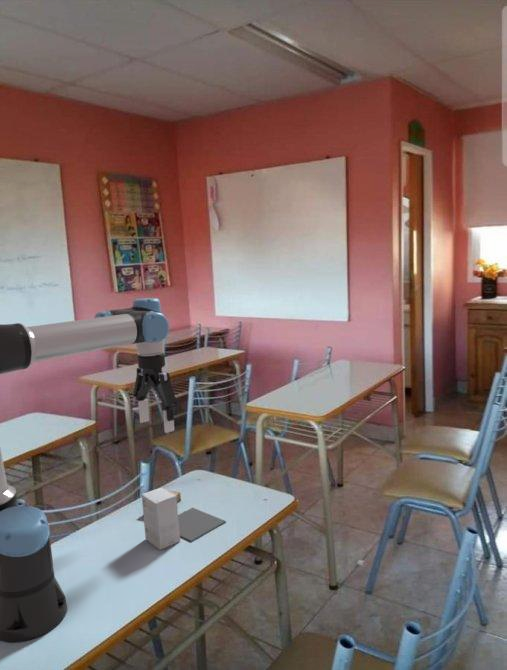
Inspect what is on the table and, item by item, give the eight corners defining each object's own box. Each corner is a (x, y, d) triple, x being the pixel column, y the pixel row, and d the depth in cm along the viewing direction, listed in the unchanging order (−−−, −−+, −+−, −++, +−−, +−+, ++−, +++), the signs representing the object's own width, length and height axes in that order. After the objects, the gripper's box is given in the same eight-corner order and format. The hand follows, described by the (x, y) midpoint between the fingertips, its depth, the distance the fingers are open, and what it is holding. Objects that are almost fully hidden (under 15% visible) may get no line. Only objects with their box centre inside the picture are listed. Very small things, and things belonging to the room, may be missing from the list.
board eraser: (157, 519, 161) (156, 509, 160) (143, 516, 163) (142, 506, 163) (181, 502, 171) (180, 492, 171) (167, 499, 174) (167, 489, 173)
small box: (180, 541, 147) (177, 495, 145) (160, 550, 143) (155, 503, 141) (165, 530, 153) (161, 486, 151) (145, 539, 149) (140, 494, 147)
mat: (191, 542, 147) (191, 540, 146) (158, 526, 156) (158, 525, 156) (225, 522, 156) (225, 521, 156) (192, 508, 165) (192, 507, 165)
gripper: (187, 356, 147) (192, 432, 151) (140, 347, 166) (146, 415, 169) (163, 360, 143) (169, 439, 146) (117, 350, 161) (124, 420, 165)
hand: (156, 426), depth 158 cm, fingers open, 13 cm apart
